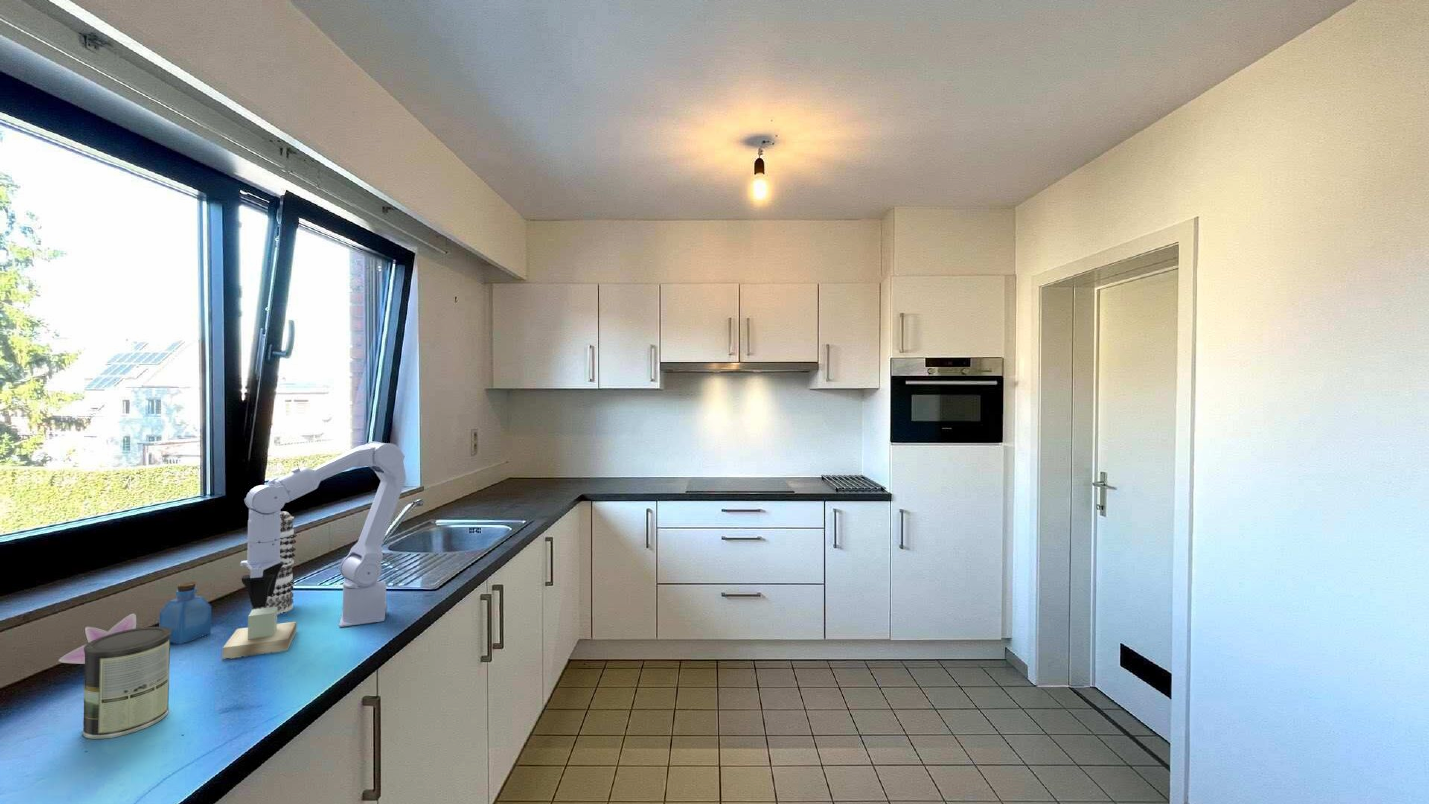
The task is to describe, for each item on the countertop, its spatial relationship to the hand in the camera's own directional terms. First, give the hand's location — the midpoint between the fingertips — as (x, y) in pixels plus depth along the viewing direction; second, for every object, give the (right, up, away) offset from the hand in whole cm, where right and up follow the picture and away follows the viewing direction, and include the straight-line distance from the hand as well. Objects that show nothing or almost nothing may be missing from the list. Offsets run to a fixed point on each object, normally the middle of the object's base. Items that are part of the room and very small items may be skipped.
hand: (262, 601), depth 128 cm
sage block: (0, -7, 0) cm, 7 cm away
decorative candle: (-13, -10, +20) cm, 26 cm away
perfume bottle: (-20, -9, +3) cm, 22 cm away
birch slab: (0, -10, 0) cm, 10 cm away
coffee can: (+1, -10, -31) cm, 32 cm away
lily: (-19, -9, -14) cm, 26 cm away
